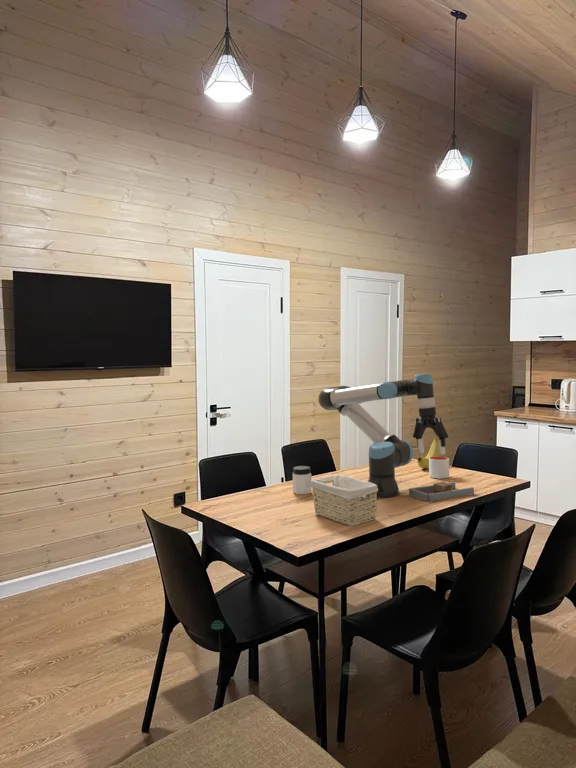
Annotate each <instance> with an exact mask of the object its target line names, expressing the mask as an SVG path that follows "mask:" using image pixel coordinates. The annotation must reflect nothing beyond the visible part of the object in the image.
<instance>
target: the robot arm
mask: <svg viewBox="0 0 576 768" xmlns="http://www.w3.org/2000/svg"><path fill="white" fill-rule="evenodd" d="M411 396H416V397H417V407H418V414H419V417H416V418H415V427H414V430H413V435H412V438H415V439H416V443H417V444H416V445H417V447H418V448H417V449H418V454H423V453H425V445H424V438H423V435H424V433H425V431H426V429H427V428H429V429H432V431H434V432H435V433H436V435H437V438H438V439H437V440H438V442H439V450H440V453H439V456H440V455H441V456H442V455H445V454H446V445H447V444H446V439H448V438H449V435H448V432H447V431H446V428H445V426H444V424H443V422H442V418H441V417H440V416H439V417H436V415H437V410H436V409H437V408H436V407H435V405H436V402H435V394H434V381H433V376H432V374H431V373H420V374H415V375H414V378H412V379H402V380H401V379H400V380H392V381H385V382H384V381H383V382H379V383H374V384H373V383H372V384H367V385H361V386H360V385H359V386H354V387H351V386H348V385H340V386H332V387H330V386H329V387H326V388H323V389H322V390H321V391H320V392H319V394H318V399H317V400H318V403H319V406H320V407H321V408H322V409H324V410H326V411H337V412H338V413H339V414H341V416H345V417H346V416H347V417H348V418H349V420H351V422H353V423H354V424H355V426H356V427H357V428H359V429H360V431H361V432H363V433H364V434H365V436H366V437H367V438H368V439H370V441H372V444H371V445H369V448H368V467H369V468H368V472H369V473H368V475H369V477H368V481H367V482H370V483H373V484H376V485H377V488H378V491H377V497H376V498H381V499H383V498H386V499H387V498H393V497H397V496H399V494H400V489H399V486H398V483H397V482H398V481H397V480H396V476H395V473H396V472H395V471H396V470H395V469H396V468H400V467H403V466H406V465H408V464H409V463H410V462H411V461H412V460H413V457H414V449H413V448H414V447H413V446H412V445H411V443H410V442H409V441H407V440H404V439H403V440H402V439H400V438H399V437H398V436H397V435H396V434H395V433H394V434H390V433H389V432H388V430H387V429H385V428H384V427H383V426H382V424H380V423H379V422H378V421H377V420H376V419H375V418H374V417H373V416H372V415H371V414H370V413H369V412H368V411H367V410H366V409H365V408H363V406H361V404H359V403H367V402H373V401H374V402H375V401H380V400H391V399H394V398H403V397H411ZM434 432H433V433H434Z"/></svg>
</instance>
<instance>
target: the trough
mask: <svg viewBox="0 0 576 768" xmlns="http://www.w3.org/2000/svg"><path fill="white" fill-rule="evenodd" d="M448 483H449V484H453V488H455V489H453V490H451V491H445V492H439V493H434V484H431V485H423V486H418V487H412V488H409V489H408V495H409V496H411V497H413V498H415V499H418V498H419V500H421V501H425V502H426V503H431V502H436V501H435V500H437V501H441V500H440V499H443V500H446V499H445V498H449V499H452V498H451V497H455V498H458V497H457V496H460V497H464V496H463V495H466V496H470V495H469V494H472V495H475V488H474V487H473V486H471V487H464V488H459V489H456V482H455V481H451V482H450V481H449V482H448ZM430 501H431V502H430Z"/></svg>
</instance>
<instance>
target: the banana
mask: <svg viewBox="0 0 576 768" xmlns="http://www.w3.org/2000/svg"><path fill="white" fill-rule="evenodd" d="M433 435H434V439H433V441H432V443H431V444H430V448H429V451H428V453H427V455H426V456H425V457H420V456H419V457H418V458H417V464H418V466H419V468H421V469H429V458H430V457H435V456H440V450H439V441H438V440H439V439H438V436H437V435H436V433H435V432H433Z"/></svg>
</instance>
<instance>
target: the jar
mask: <svg viewBox="0 0 576 768" xmlns="http://www.w3.org/2000/svg"><path fill="white" fill-rule="evenodd" d="M292 469H293V471H292V493H294V492H295V493H296V494H295V493H294V494H295V495H297V494H306V495H309V494H311V492H312V493H313V489H312V487H311V484H312V473H311V467H310V466H307V465H298V466H294V467H293V468H292ZM308 493H309V494H308Z"/></svg>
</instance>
